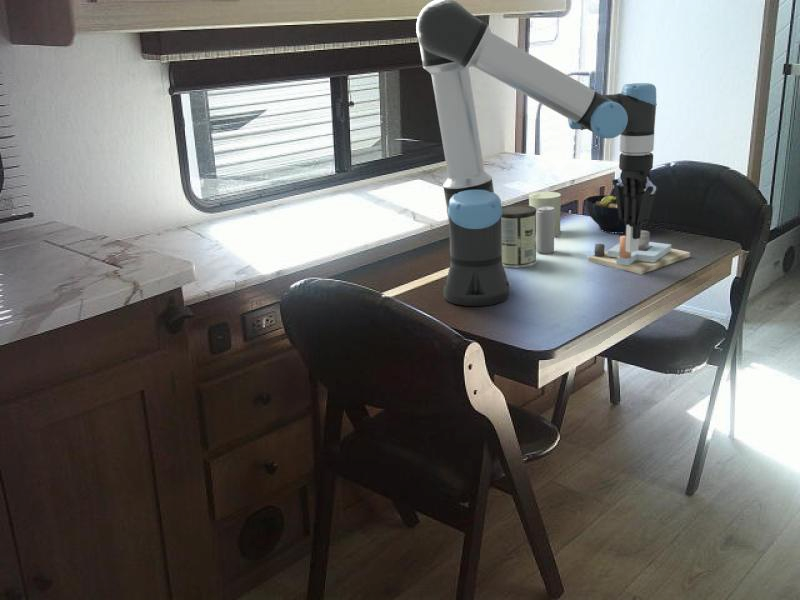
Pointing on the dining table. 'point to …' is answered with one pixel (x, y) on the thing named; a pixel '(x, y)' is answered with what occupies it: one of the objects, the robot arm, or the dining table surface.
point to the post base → (637, 265)
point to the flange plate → (638, 252)
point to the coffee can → (518, 236)
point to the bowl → (605, 213)
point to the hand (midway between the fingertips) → (631, 250)
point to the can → (548, 200)
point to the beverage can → (545, 229)
